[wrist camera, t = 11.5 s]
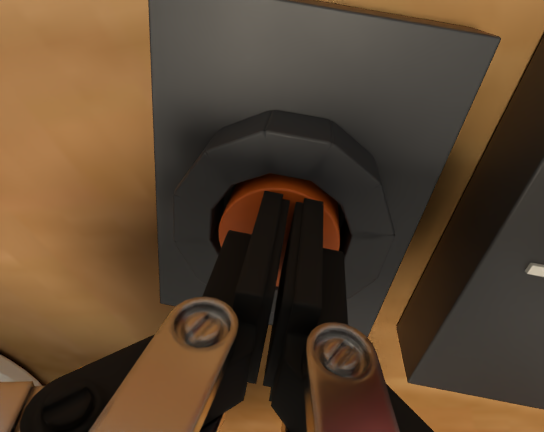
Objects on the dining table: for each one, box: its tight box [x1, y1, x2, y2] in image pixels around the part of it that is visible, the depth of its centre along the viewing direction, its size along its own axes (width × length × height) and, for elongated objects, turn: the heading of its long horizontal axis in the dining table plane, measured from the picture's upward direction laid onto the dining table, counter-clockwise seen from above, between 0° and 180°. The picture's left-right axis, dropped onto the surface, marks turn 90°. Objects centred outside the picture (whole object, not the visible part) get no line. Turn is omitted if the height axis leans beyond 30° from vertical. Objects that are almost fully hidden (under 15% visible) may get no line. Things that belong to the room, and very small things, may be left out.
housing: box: [148, 0, 501, 337], centre depth 13 cm, size 12×9×4 cm
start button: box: [219, 173, 340, 286], centre depth 11 cm, size 4×4×2 cm
